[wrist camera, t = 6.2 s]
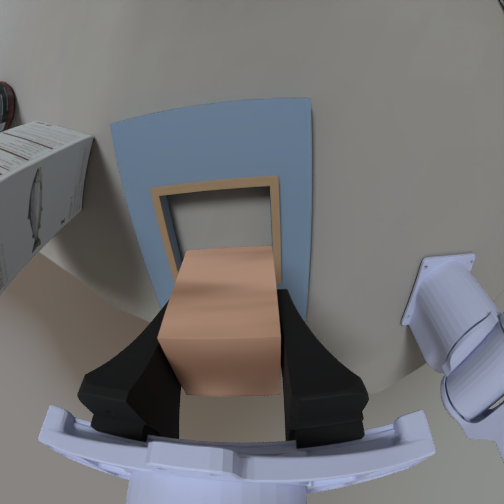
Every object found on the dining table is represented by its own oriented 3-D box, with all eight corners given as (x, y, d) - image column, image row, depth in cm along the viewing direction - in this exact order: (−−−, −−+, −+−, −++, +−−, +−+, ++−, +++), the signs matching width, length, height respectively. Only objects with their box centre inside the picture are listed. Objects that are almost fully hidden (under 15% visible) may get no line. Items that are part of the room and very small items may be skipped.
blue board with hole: (304, 312, 27) (306, 324, 26) (170, 317, 28) (167, 328, 27) (307, 97, 17) (311, 98, 15) (117, 122, 17) (107, 125, 16)
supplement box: (83, 212, 21) (-2, 306, 11) (29, 188, 20) (-58, 260, 9) (97, 134, 18) (-24, 198, 7) (37, 116, 16) (-75, 165, 5)
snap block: (273, 308, 17) (279, 394, 12) (201, 310, 17) (186, 394, 12) (272, 245, 14) (280, 336, 9) (186, 250, 14) (157, 338, 9)
